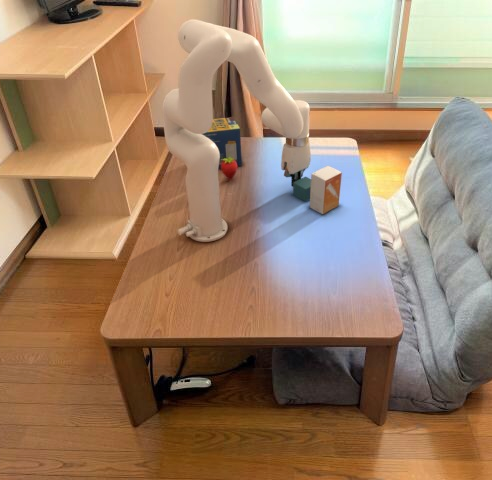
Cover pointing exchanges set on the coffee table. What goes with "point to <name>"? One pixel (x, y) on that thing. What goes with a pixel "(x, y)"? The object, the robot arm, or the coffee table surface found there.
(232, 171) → the strawberry
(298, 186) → the teal block
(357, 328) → the coffee table surface
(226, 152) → the protein box
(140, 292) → the coffee table surface
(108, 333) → the coffee table surface
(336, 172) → the small box
